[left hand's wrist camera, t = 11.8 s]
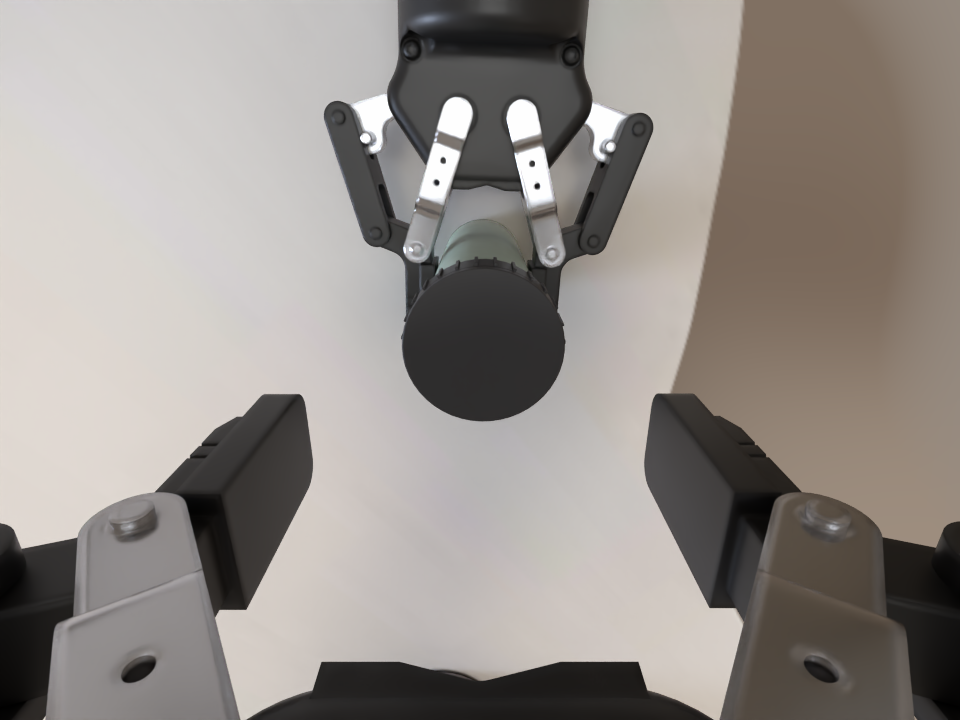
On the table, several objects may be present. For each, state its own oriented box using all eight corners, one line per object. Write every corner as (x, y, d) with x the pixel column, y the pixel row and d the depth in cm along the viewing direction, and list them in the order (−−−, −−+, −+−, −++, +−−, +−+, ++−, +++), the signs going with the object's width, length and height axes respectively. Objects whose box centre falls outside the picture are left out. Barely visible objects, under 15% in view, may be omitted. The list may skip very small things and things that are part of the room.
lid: (517, 226, 16) (520, 233, 15) (584, 361, 18) (594, 380, 17) (377, 302, 17) (367, 316, 16) (454, 424, 19) (451, 448, 17)
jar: (498, 205, 30) (513, 249, 15) (532, 272, 31) (575, 370, 17) (431, 242, 30) (387, 317, 16) (467, 306, 32) (456, 427, 18)
